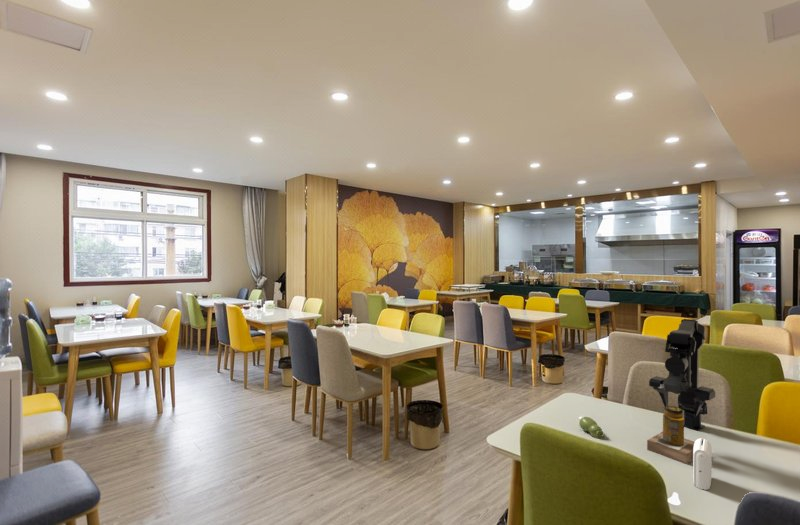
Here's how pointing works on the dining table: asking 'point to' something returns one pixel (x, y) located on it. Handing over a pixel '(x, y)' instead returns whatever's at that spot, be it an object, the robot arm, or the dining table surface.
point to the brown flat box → (671, 449)
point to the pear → (591, 427)
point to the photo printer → (702, 464)
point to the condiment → (673, 428)
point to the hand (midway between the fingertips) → (680, 411)
